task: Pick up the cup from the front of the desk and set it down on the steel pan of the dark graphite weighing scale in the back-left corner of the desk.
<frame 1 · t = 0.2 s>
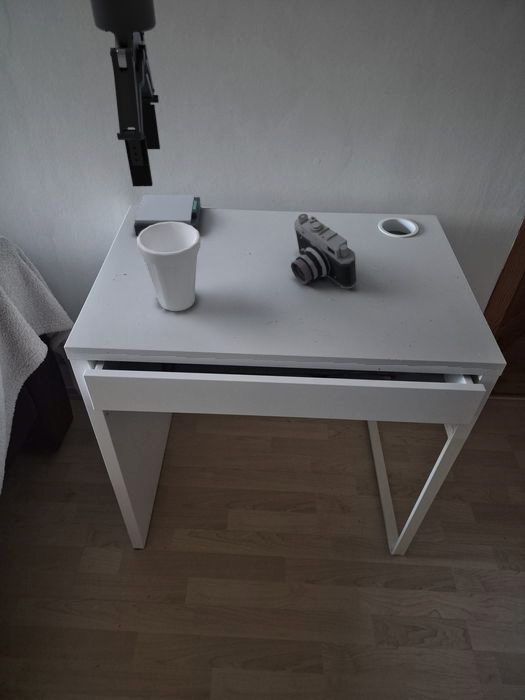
hand: (147, 165, 68), 22 cm above the table, tool pointing down, fingers open, 13 cm apart
cup: (177, 302, 80), on the table
scale: (169, 220, 100), on the table
camera: (312, 275, 87), on the table
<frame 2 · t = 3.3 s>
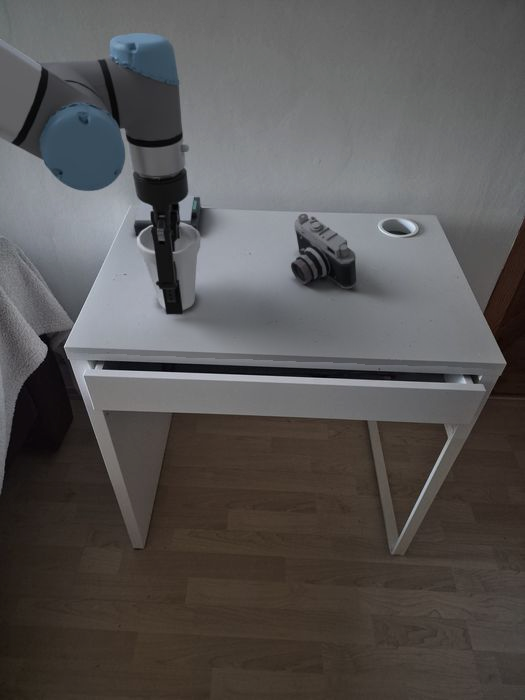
hand: (176, 296, 79), 1 cm above the table, tool pointing down, fingers closed on cup, 8 cm apart
cup: (177, 302, 80), on the table, touching gripper
everything else where it was.
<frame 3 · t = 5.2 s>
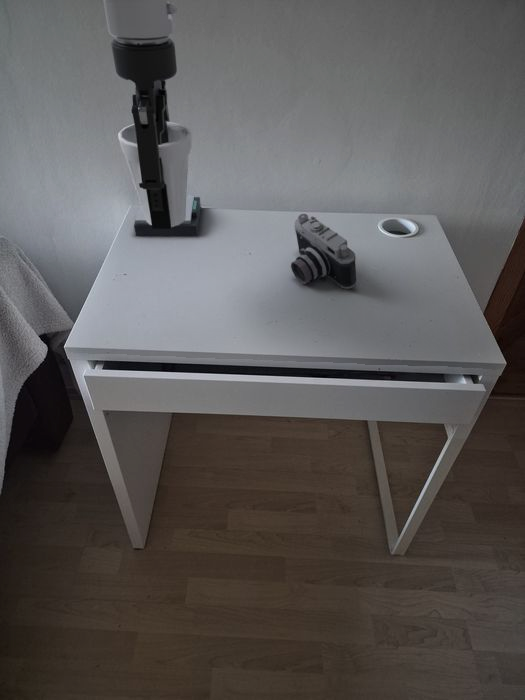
hand: (165, 212, 69), 16 cm above the table, tool pointing down, fingers closed on cup, 8 cm apart
cup: (166, 221, 70), point 15 cm above the table, touching gripper
everything else where it was.
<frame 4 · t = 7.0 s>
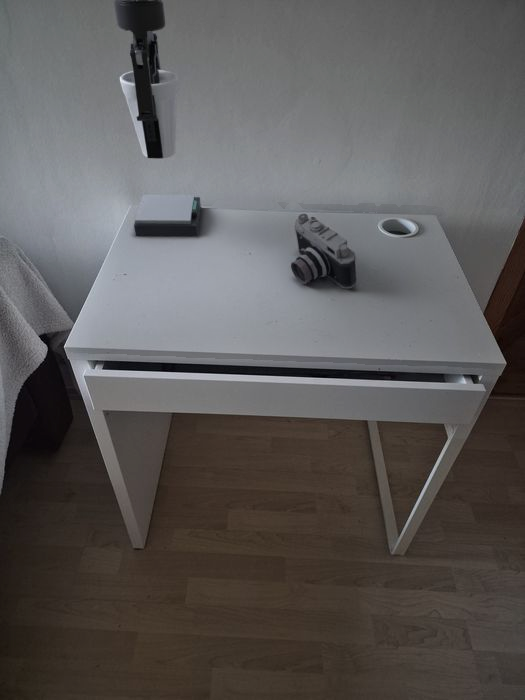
hand: (158, 147, 85), 17 cm above the table, tool pointing down, fingers closed on cup, 8 cm apart
cup: (159, 155, 86), point 16 cm above the table, touching gripper
everything else where it was.
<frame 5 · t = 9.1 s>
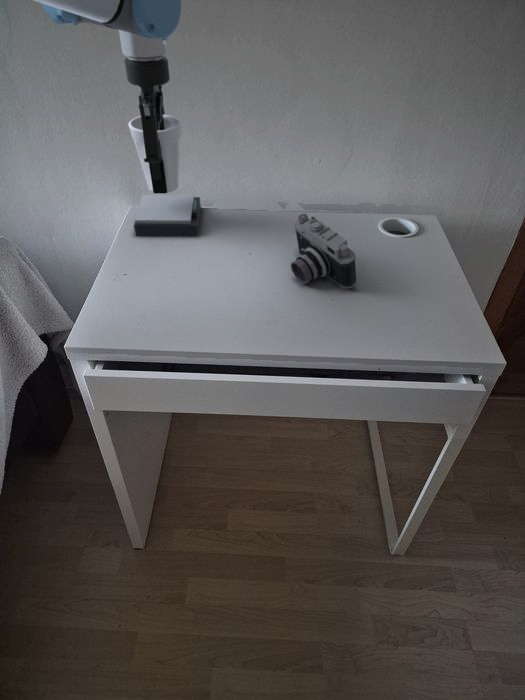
hand: (162, 182, 93), 9 cm above the table, tool pointing down, fingers closed on cup, 8 cm apart
cup: (163, 189, 94), point 7 cm above the table, touching gripper
everything else where it was.
when the fingers open (4 cm above the table, at t = 10.7 s): cup stays where it is, resting on scale.
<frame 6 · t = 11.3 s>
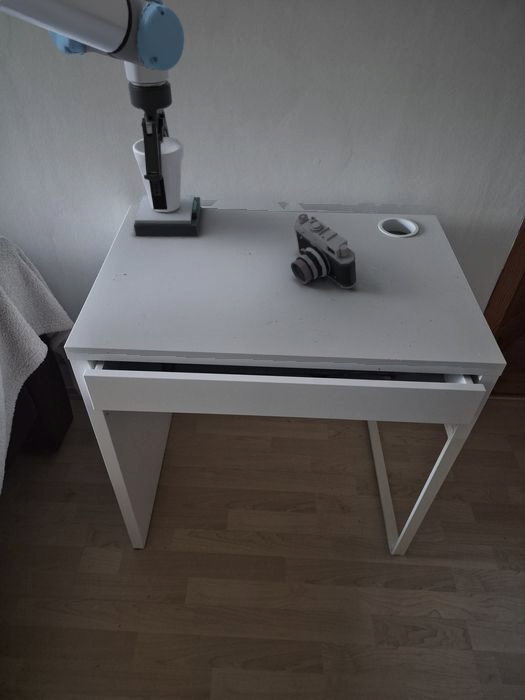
hand: (163, 193, 95), 6 cm above the table, tool pointing down, fingers open, 13 cm apart
cup: (166, 207, 97), point 3 cm above the table, touching scale
everything else where it was.
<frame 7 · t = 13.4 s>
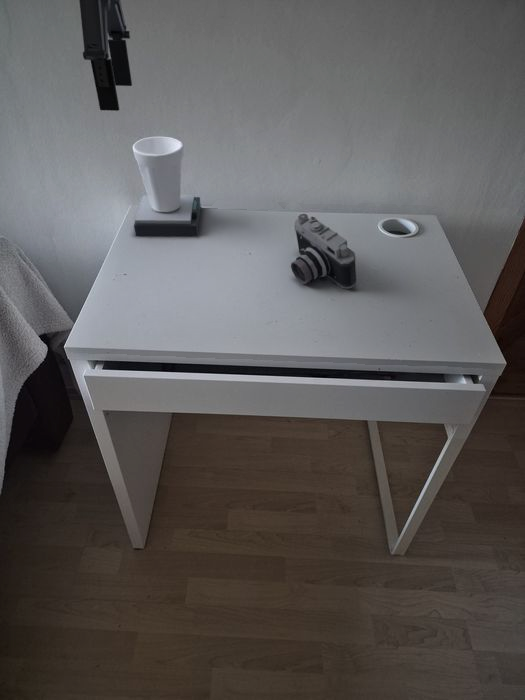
hand: (117, 97, 72), 28 cm above the table, tool pointing down, fingers open, 13 cm apart
nothing on the table moved.
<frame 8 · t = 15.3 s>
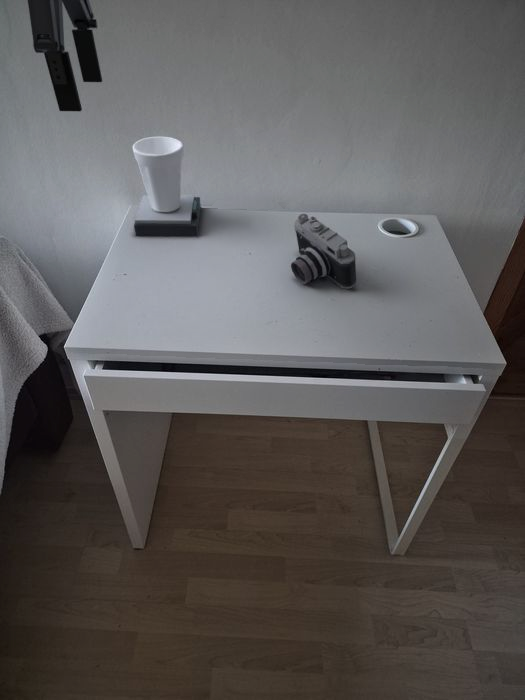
hand: (82, 95, 63), 31 cm above the table, tool pointing down, fingers open, 13 cm apart
nothing on the table moved.
at the end: cup inside the target area on the scale (0.1 cm from its centre), point 3.1 cm above the scale's base; cup tilted 0°; the gripper is holding nothing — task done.
